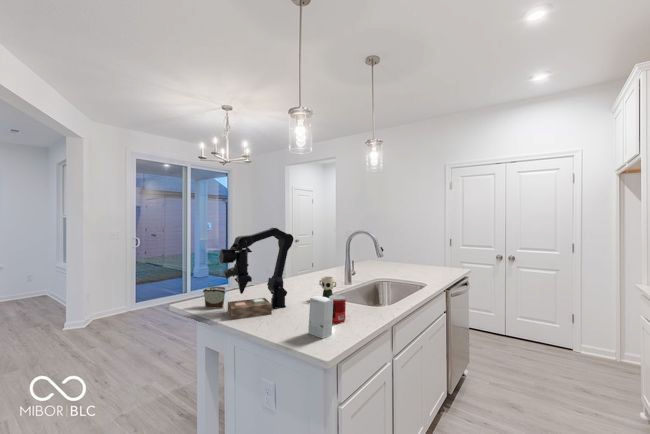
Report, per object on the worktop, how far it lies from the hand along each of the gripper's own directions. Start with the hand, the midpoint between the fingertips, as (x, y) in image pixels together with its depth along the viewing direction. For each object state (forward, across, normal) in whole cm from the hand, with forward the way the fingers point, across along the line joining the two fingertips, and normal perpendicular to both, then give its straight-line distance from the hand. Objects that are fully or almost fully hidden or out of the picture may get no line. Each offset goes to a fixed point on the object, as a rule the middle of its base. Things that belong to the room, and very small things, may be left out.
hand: (241, 293), depth 147 cm
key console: (+10, +1, +4) cm, 11 cm away
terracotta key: (+8, +1, -1) cm, 8 cm away
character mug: (+10, -5, +50) cm, 52 cm away
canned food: (+10, +29, +38) cm, 49 cm away
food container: (+10, -18, -10) cm, 23 cm away
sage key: (+8, +1, +8) cm, 11 cm away
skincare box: (+10, +41, +24) cm, 48 cm away
